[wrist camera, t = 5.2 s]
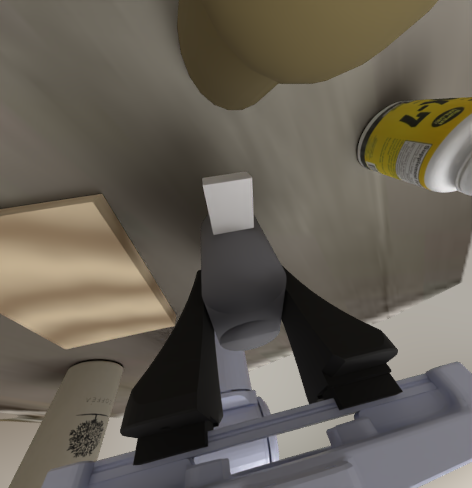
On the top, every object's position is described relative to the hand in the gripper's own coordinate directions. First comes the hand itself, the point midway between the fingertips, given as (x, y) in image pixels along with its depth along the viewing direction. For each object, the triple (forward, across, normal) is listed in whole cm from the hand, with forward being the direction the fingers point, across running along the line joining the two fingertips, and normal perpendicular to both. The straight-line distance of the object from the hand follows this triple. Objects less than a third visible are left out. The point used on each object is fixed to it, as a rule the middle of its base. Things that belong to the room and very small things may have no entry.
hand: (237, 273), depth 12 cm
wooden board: (+6, +16, +4) cm, 18 cm away
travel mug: (+6, +26, +24) cm, 36 cm away
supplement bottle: (+6, -14, -6) cm, 16 cm away
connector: (+2, 0, -1) cm, 2 cm away
